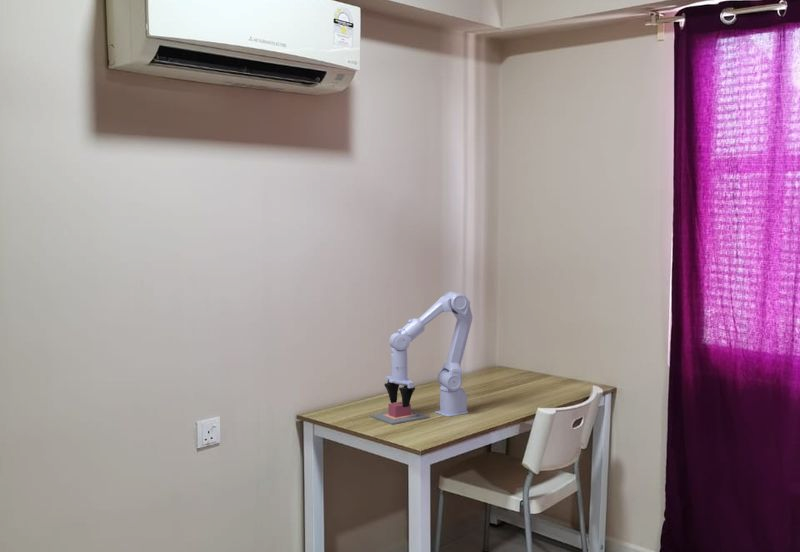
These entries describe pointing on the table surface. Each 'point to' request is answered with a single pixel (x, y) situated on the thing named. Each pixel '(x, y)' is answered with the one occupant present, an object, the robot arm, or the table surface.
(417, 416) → the mat
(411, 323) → the robot arm
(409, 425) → the table surface
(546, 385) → the table surface
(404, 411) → the pink rectangular block
